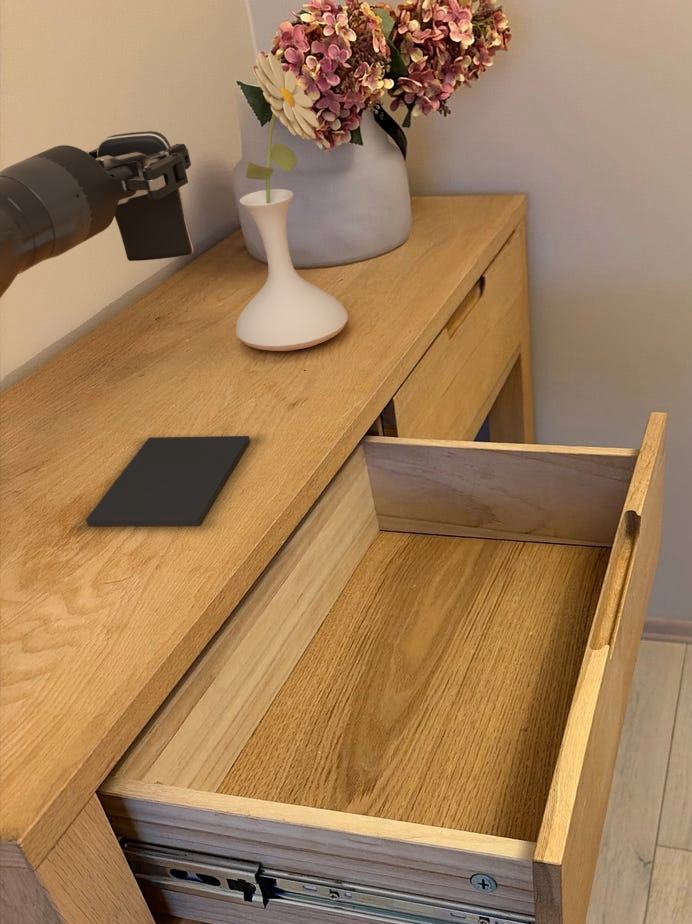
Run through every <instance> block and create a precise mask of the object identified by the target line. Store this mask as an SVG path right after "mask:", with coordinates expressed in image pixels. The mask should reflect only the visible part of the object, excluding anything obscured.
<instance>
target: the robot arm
mask: <svg viewBox="0 0 692 924" xmlns="http://www.w3.org/2000/svg"><path fill="white" fill-rule="evenodd" d="M170 146H171V147H169V148H167V149H165V150H163V151H160V152H159V153H155V154H151V155H147V156H146V155H145V154H143V153H140V152H133V153H129V154H125V155H120V156H116V157H112V156H109V155H107V156H103V157H99V158H98V157H97V150H98V147H96V148H95V149H93V150H91V151H85V150H83V149H81V148H79V147H76V146H72V145H68V144H67V145H66V144H60V145H56V146H53V147H51V148H48V149H46V150H43V151H42V152H40V153H37V154H35V155H34V154H33V155H32V156H30V157H28V158H26V159H23V160H21V161H19V162H16V163H14V164H11V165H9V166H7V167H5V168H3V169H2V170H0V299H1V298H2V297H3V295H5V293H6V292H7V291H8V289H10V287H11V285H12V284H13V282H14V281H15V280H16V278H17V277H18V275H21V274H23V273H24V272H26V271H27V270H29V269H31V268H33V267H35V266H37V265H38V264H40V263H42V262H44V261H46V260H50V259H53V258H57V257H59V256H61V255H63V254H65V253H67V252H68V251H70V250H73V249H75V248H76V247H77V246H80V245H81V244H82V243H84V242H86V241H88V240H90V239H92V238H93V237H95V236H97V235H99V234H100V233H103V232H104V231H106V230H107V229H109V227H110V225H111V224H112V222H113V221H114V219H115V212H116V209H117V205H119V204H122V203H126V202H127V201H128V200H129V199H130V198H134V197H138V196H142V195H146V194H148V196H149V199H150V200H159V199H160V198H162V197H164V196H166V195H168V194H169V193H171V192H173V191H174V190H176V189H178V188H180V189H181V187H184V186H185V185H186V184H189V178H188V174H187V171H186V170H189V169H190V167H191V166H192V162H191V157H190V154H189V153H190V152H189V149H188V148H187V146H186V145H185V144H184V143H175V144H174V145H170ZM131 162H135V163H136V166H137V169H138V173H139V176H138V177H134V175H133V172H132V168H131V167H130V165H129V164H127V163H131ZM154 162H156V163H154ZM151 163H154V164H152V165H150V164H151Z"/></svg>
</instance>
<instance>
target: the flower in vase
mask: <svg viewBox="0 0 692 924" xmlns="http://www.w3.org/2000/svg"><path fill="white" fill-rule="evenodd" d="M257 57H258V58H257V59H256V60H255V65H256V67H257V68H255V69H254V72H255V74H256V77H257V78H258V79H257V84H258V86H259V88H260V89H261V91H262V95H263V97H264V99H265V100H266V102H267V103H268V104H269V105H270V110H271V112H272V115H271V119H270V124H269V129H268V135H267V136H268V137H267V153H266V155H267V156H266V166H263V165H259V164H256V163H254V162H252V161H248V164H247V168H246V173H245V177H246V178H247V179H249V180H250V179H251V180H260V181H262V180H263V181H264V180H265V189H262V190H258V191H253V192H250V193H247V194H245V195H243V196H242V197H240V199H239V203H240V205H242V206H243V208H245V209H246V211H247V212H248V213H249V214H250V216H251V217H252V220H254V222H255V225H256V226H257V229H258V231H259V234H260V237H261V240H262V243H263V246H264V250H265V254H266V255H265V256H266V260H267V267H268V268H267V270H268V274H267V279H266V281H265V282H264V285H263V286H262V287H261V289H260V290H259V291H258V292H257V293H256V294H255V296H253V297H252V299H251V300H250V301H249V302H248V303H247V305H246V306H245V307H244V308H243V309H242V312H241V313H240V315H239V316H238V318H237V319H236V325H235V335H236V336H237V338H238V339H239V340H240V341H241V342H242V343H244V344H245V345H246V346H248V347H250V348H254V349H257V350H263V351H271V352H273V351H274V352H288V351H289V352H290V351H295V350H296V351H298V350H301V349H307V348H310V347H314V346H316V345H319V344H322V343H324V342H326V341H328V340H331V339H332V338H334V337H335V336H337V335H338V334H340V333H341V332H342V330H343V329H344V328H345V326H346V324H347V321H348V319H349V314H348V312H347V310H346V308H345V307H344V305H343V303H341V302H340V301H339V300H338V299H336V298H335V297H334V296H333V295H331V294H329V293H328V292H326V291H325V290H322V289H321V288H319V287H318V286H316V285H314V284H312V283H311V282H308V281H307V280H305V279H304V278H303V277H301V276H300V275H299V274H298V272H297V271H296V269H295V267H294V265H293V262H292V258H291V253H290V249H289V243H288V242H289V241H288V231H287V219H288V218H287V217H288V212H289V211H288V210H289V208H290V207H289V206H290V204H291V201H292V199H293V197H294V192H293V191H291V190H290V189H285V188H284V189H283V188H271V177H272V175H273V173H274V171H275V169H274V168H272V167H271V166H272V165H271V163H272V162H273V163H274V164H275V165H276V166H277V167H279V168H280V169H281V170H283V171H284V172H290V171H293V169H294V168H295V167H296V166H297V161H298V157H297V156H296V154H295V152H294V151H293V150H292V149H291V148H290V147H288V146H287V145H285V144H283V143H279V142H276V143H274V144H273V145H272V142H273V141H272V140H273V133H274V126H275V123H276V119H278V120H279V121H280V123H281V124H282V125H283V126H285V127H287V130H288V131H289V133H290V134H292V136H293V137H296V136H299V138H300V139H302V140H306V139H307V140H308V141H311V140H312V139H315V140H316V139H317V136H316V134H315V132H314V130H313V129H312V128H316V129H319V128H320V123H319V122H318V120H317V119H318V118H317V115H316V114H315V112H314V111H313V110H311V109H310V108H312V107H314V101H313V100H312V98H311V97H310V96H309V95H308V94H305V91H304V88H303V87H302V86H301V85H299V84H298V83H297V76H296V74H295V72H294V71H293V70H291V69H289V70H287V71H286V70H283V67H282V64H281V63H280V61H279V59H278V58H276V57H275V55H274V54H273V53H271V52H268V54H267V57H265V56H264V55H263V53H261V52H259V53H258V54H257Z"/></svg>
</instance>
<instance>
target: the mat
mask: <svg viewBox="0 0 692 924" xmlns="http://www.w3.org/2000/svg"><path fill="white" fill-rule="evenodd" d="M250 443H251V440H250V436H249V435H229V436H228V435H227V436H226V435H225V436H224V435H221V436H159V437H157V436H155V437H153V436H152V437H148V438H147V439H146V441H145V442H144V443H143V445H142V446H141V447H140V448H139V450H138V451H137V452H136V454H135V455H134V456H133V458H132V459H131V460H130V462H129V463H128V464H127V465H126V466H125V468H124V469H123V470H122V472H121V473H120V474H119V476H118V477H117V478H116V480H115V481H114V482H113V484H112V485H111V486H110V487H109V489H108V490H107V492H105V494H104V495H103V497H102V498H101V499H100V501H99V502H98V503H97V505H96V506H95V507H94V508H93V510H92V511H91V513H89V515H88V516H87V517H86V519H85V522H86V524H87V526H88V527H200V526H201V524H202V523H203V521H204V520H205V518H206V516H207V514H208V513H209V511H210V510H211V508H212V506H213V505H214V503H215V501H216V500H217V499H218V496H219V494H220V493H221V491H222V490H223V488H224V487H225V485H226V483H227V481H228V479H229V478H230V476H231V475H232V473H233V471H234V470H235V468H236V467H237V464H238V463H239V462H240V460H241V458H242V456H243V455H244V453H245V451H246V450H247V448H248V446H249V445H250Z"/></svg>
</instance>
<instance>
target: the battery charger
mask: <svg viewBox="0 0 692 924" xmlns="http://www.w3.org/2000/svg"><path fill="white" fill-rule="evenodd" d="M171 146H172V145H171V144H170V141H169V140H168V139H167V137H166V136H165V135H164V134H162V133H161V132H158V131H155V130H148V131H147V130H146V131H134V132H126V133H119V134H118V133H117V134H113V135H110V136H108V137H106V138H105V139H103V140H102V141H101V142H100V143H99V145H98V147H97V148H98V150H97V157H98V158H99V157H103V156H107V155H109V156H112V157H116V156H120V155H125V154H129V153H133V152H140V153H143V154H145V155H146V156H147V155H151V154H155V153H159V152H160V151H163V150H165V149H167V148H169V147H171ZM154 163H156V162H154ZM154 163H151V164H150V165H152V164H154ZM127 164H129V165H130V167H131V168H132V172H133V175H134V177H138V176H139V173H138V169H137V166H136V163H135V162H131V163H127ZM114 219H115V221H116V224H117V227H118V230H119V234H120V237H121V240H122V243H123V247H124V248H123V249H124V252H125V255H126V259H127V261H128V262H140V261H153V260H163V259H172V258H177V257H178V258H179V257H183V256H189V255H193V253H194V244H193V241H192V238H191V237H192V236H191V233H190V230H189V226H188V221H187V217H186V212H185V206H184V201H183V197H182V192H181V187H180V188H178V189H176V190H174V191H173V192H171V193H169V194H168V195H166V196H164V197H162V198H160V199H159V200H150V199H149V196H148V194H146V195H142V196H138V197H134V198H130V199H129V200H128V201H127V202H126V203H122V204H119V205H117V209H116V212H115V216H114Z"/></svg>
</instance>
